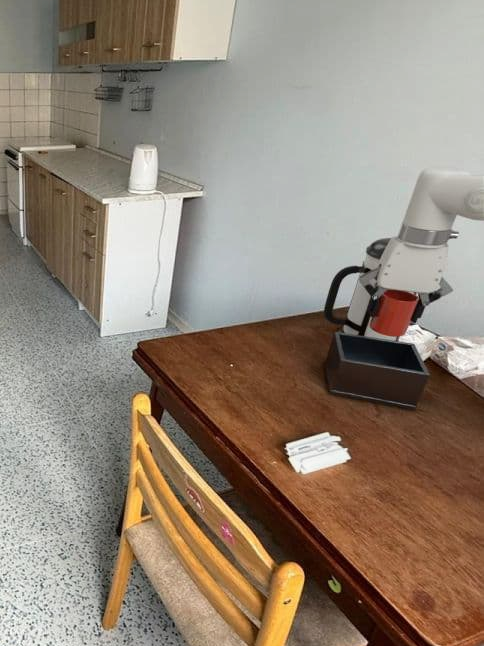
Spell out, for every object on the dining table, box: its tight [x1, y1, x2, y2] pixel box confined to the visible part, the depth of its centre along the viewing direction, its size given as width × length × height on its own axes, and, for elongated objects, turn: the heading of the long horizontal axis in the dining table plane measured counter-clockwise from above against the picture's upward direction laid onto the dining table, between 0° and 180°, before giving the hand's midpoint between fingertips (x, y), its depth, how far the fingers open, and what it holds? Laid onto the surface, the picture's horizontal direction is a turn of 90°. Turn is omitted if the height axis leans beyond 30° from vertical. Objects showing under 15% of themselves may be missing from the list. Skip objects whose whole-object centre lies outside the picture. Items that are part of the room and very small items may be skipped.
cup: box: [369, 289, 419, 338], centre depth 99 cm, size 6×6×8 cm
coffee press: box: [323, 237, 418, 341], centre depth 118 cm, size 17×16×30 cm
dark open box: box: [324, 331, 431, 411], centre depth 106 cm, size 16×14×9 cm
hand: (391, 316), depth 99 cm, fingers closed on cup, 6 cm apart
